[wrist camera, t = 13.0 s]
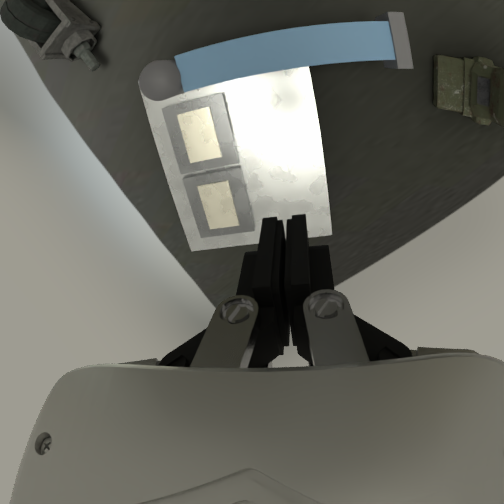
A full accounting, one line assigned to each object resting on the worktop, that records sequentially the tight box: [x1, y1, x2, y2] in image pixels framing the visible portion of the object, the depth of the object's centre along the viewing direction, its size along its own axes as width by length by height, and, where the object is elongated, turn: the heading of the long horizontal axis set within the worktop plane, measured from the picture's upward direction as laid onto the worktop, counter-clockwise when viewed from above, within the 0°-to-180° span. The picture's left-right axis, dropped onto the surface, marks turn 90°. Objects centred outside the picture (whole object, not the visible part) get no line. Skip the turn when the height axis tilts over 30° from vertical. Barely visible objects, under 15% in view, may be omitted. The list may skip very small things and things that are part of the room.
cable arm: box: [139, 12, 413, 101], centre depth 20 cm, size 20×4×4 cm, turn 103°
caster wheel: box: [0, 0, 101, 71], centre depth 20 cm, size 6×10×15 cm
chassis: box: [138, 66, 332, 251], centre depth 30 cm, size 20×16×5 cm
